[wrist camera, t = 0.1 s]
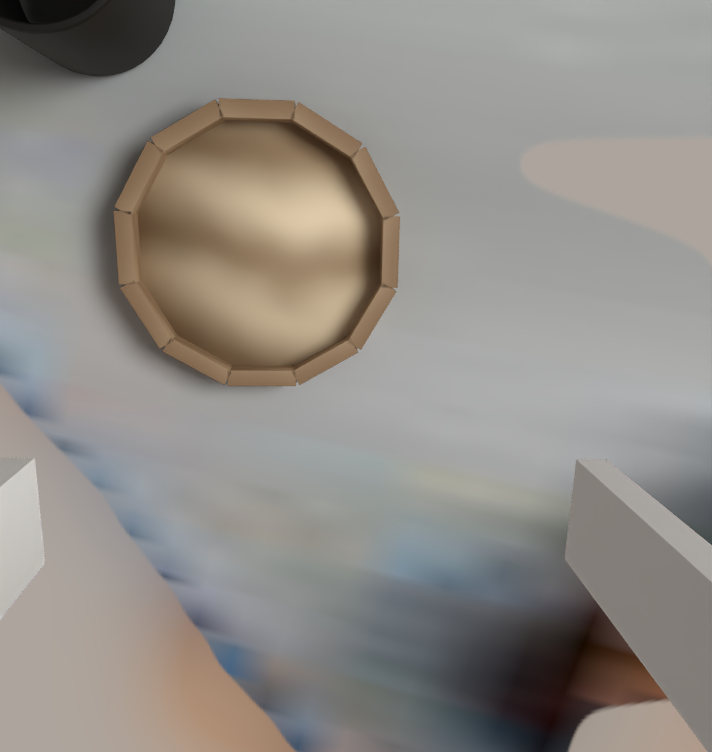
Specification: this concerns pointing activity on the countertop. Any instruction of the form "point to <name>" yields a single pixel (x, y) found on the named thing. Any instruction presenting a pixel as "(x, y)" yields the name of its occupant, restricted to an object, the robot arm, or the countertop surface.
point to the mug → (90, 31)
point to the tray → (257, 242)
